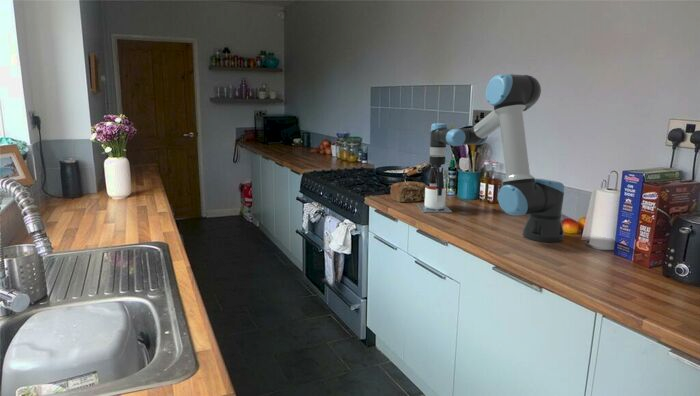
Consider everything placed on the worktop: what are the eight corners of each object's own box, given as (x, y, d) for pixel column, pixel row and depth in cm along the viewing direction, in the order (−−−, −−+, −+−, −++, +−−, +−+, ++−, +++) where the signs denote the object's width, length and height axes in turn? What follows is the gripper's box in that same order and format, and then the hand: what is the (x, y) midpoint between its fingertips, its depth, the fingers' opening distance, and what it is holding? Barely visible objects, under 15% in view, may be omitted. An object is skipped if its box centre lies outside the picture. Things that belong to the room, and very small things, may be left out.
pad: (452, 212, 224) (452, 211, 224) (423, 212, 223) (423, 211, 223) (444, 206, 238) (444, 204, 238) (417, 206, 237) (417, 204, 237)
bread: (399, 203, 243) (400, 184, 241) (389, 199, 252) (389, 180, 250) (429, 200, 251) (430, 182, 249) (418, 196, 260) (419, 179, 258)
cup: (446, 210, 225) (447, 190, 223) (425, 210, 226) (426, 189, 223) (442, 205, 235) (444, 186, 233) (423, 205, 235) (424, 185, 233)
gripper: (452, 159, 213) (449, 204, 217) (438, 153, 237) (436, 194, 242) (436, 158, 213) (433, 204, 217) (424, 153, 237) (422, 194, 241)
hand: (435, 199), depth 229 cm, fingers open, 13 cm apart
